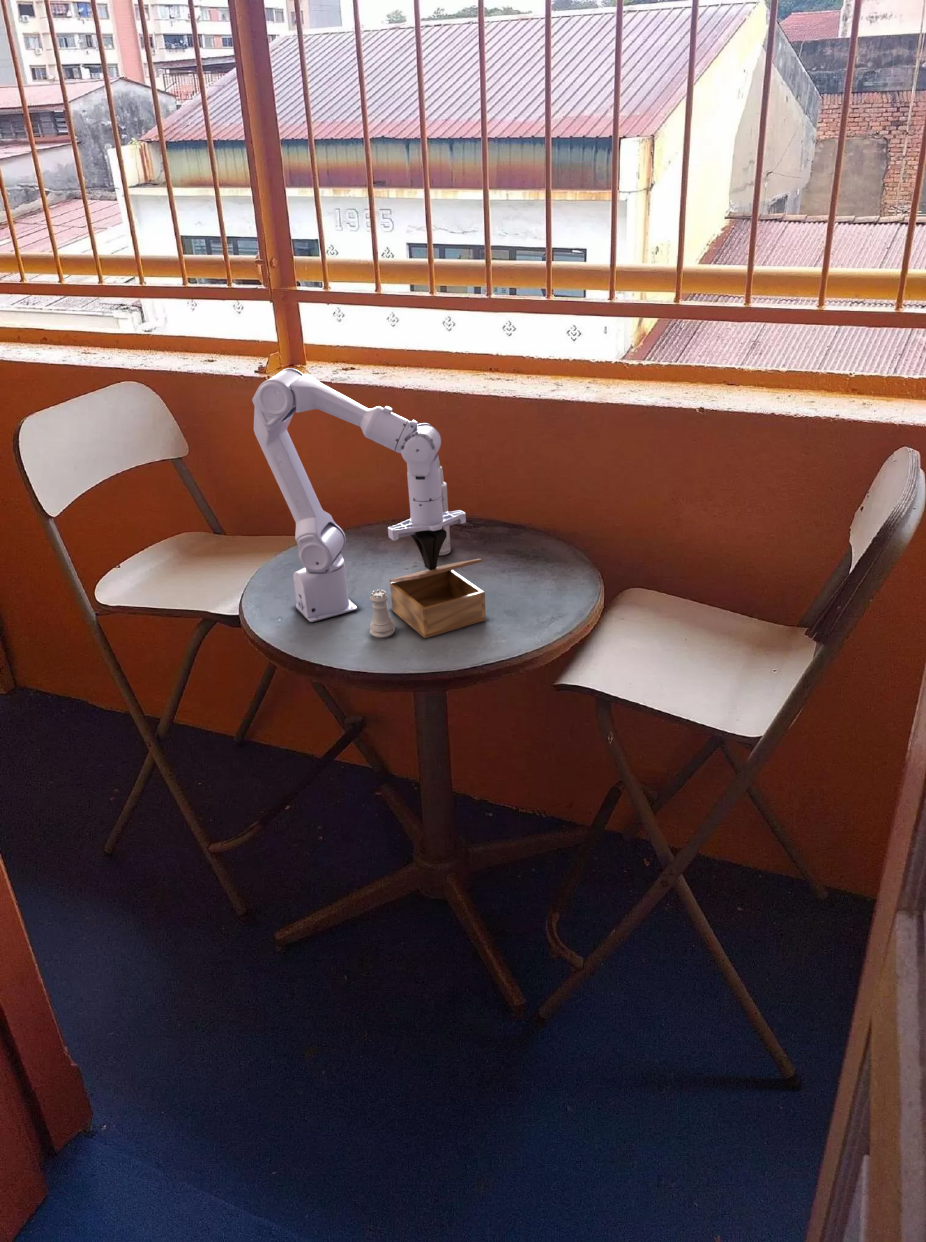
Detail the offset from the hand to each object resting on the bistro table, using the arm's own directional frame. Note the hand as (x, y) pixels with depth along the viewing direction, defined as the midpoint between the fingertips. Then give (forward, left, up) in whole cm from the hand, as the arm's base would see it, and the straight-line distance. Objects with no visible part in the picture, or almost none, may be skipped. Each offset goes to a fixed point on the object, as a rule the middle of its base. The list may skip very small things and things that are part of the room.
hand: (430, 567), depth 167 cm
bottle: (+14, +25, -9) cm, 30 cm away
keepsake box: (0, -2, -9) cm, 9 cm away
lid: (0, -2, 0) cm, 2 cm away
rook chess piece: (-12, -2, -9) cm, 15 cm away
